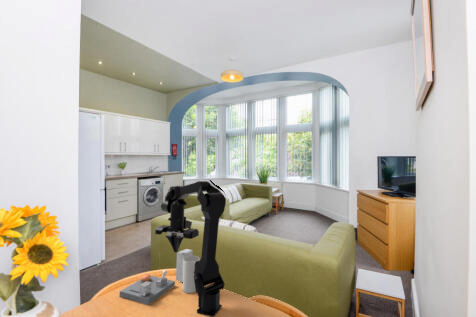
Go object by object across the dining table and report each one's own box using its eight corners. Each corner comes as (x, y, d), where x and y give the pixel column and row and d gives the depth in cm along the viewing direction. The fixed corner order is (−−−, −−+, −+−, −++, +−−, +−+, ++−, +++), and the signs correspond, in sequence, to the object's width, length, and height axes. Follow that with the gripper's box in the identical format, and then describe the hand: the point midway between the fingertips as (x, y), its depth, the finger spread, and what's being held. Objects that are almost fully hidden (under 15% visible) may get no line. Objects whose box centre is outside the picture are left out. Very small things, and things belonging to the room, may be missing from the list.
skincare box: (185, 275, 100) (186, 248, 101) (192, 277, 98) (193, 249, 99) (175, 280, 95) (176, 252, 96) (182, 283, 93) (183, 254, 94)
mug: (196, 294, 84) (197, 262, 85) (179, 293, 85) (180, 261, 86) (203, 281, 94) (203, 253, 95) (187, 281, 95) (188, 252, 96)
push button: (151, 279, 91) (152, 275, 91) (146, 282, 88) (146, 278, 88) (146, 277, 92) (146, 273, 93) (140, 281, 89) (140, 277, 90)
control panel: (174, 286, 90) (175, 276, 91) (148, 305, 77) (149, 293, 77) (148, 279, 95) (148, 270, 96) (119, 296, 82) (120, 285, 82)
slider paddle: (151, 292, 81) (151, 282, 81) (145, 296, 78) (145, 286, 79) (145, 290, 82) (146, 281, 82) (139, 294, 79) (140, 284, 80)
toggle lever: (164, 283, 88) (168, 270, 88) (161, 286, 86) (165, 272, 86) (160, 281, 89) (165, 268, 89) (157, 283, 87) (161, 270, 87)
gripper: (205, 213, 98) (204, 249, 97) (171, 210, 105) (170, 244, 104) (191, 218, 88) (190, 258, 87) (155, 214, 95) (153, 251, 94)
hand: (176, 252), depth 93 cm, fingers closed
